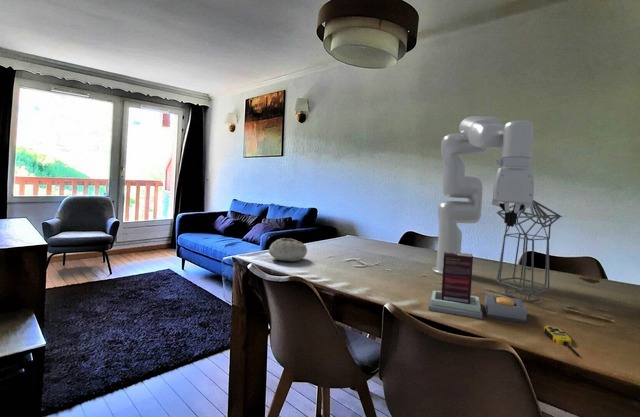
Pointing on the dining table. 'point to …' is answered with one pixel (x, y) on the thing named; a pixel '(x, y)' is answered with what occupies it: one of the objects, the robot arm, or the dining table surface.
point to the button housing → (505, 309)
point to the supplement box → (457, 277)
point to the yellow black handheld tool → (559, 337)
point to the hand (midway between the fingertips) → (509, 225)
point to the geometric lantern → (536, 207)
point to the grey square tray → (455, 306)
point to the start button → (505, 301)
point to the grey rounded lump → (287, 250)
